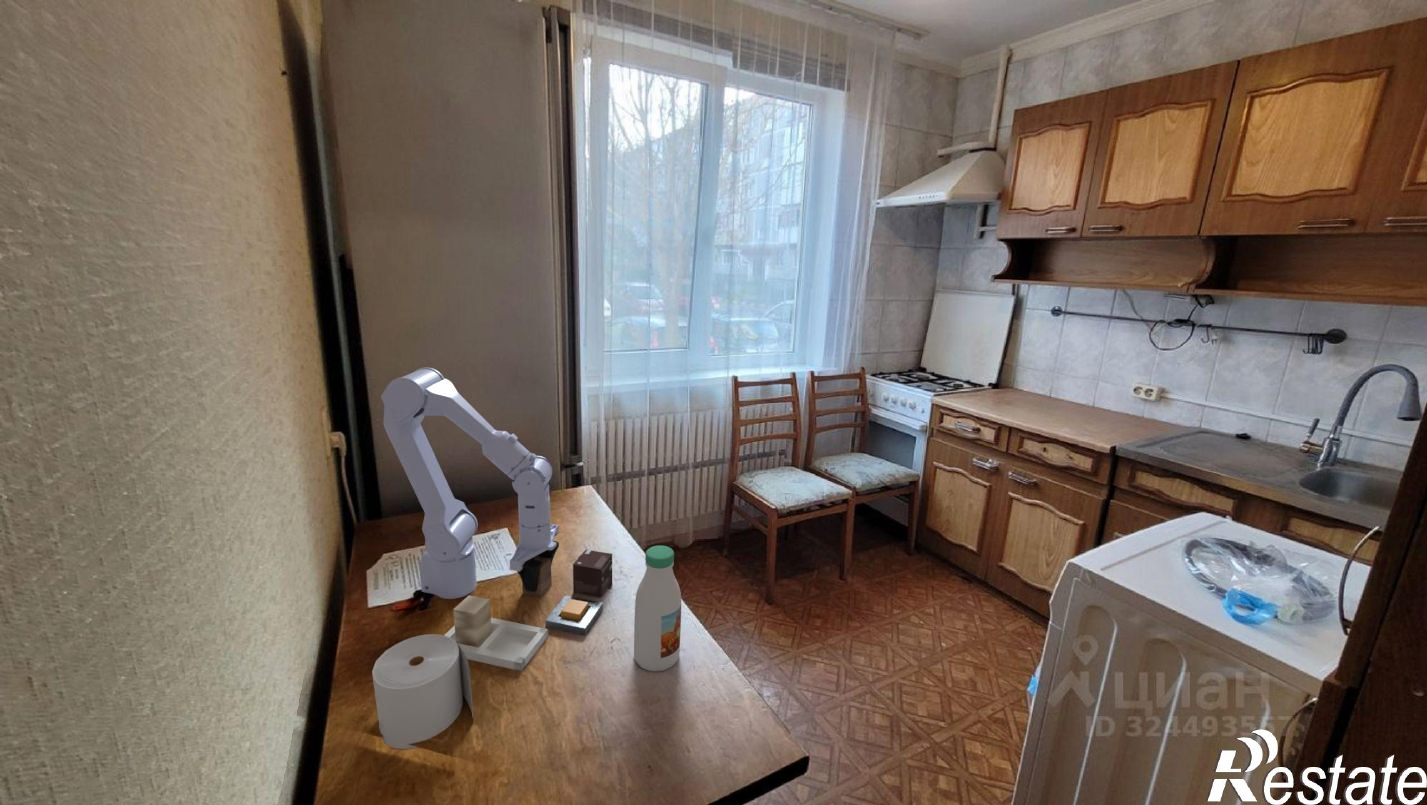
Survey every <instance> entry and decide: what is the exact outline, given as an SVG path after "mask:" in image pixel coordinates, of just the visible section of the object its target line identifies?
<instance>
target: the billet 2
mask: <svg viewBox="0 0 1427 805" xmlns="http://www.w3.org/2000/svg"><path fill="white" fill-rule="evenodd" d="M533 558H535V560H538V561H543V563H542V565H541V568H540V571H539V575H538V586H537V590H536V591H535V592H531V591H526V590H525V588H524V585H523V582H522V581H521V588H522V589H521V590H522V594H523V595H529V596H532V597H533V596H534V597H539V598H542V597H543V596H544V595H545V594H546V592H547V591H548V590H549V589H550V588H551V587H552V565H551V558H545V557H540V556H535V557H533Z"/></svg>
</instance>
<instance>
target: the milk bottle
mask: <svg viewBox="0 0 1427 805" xmlns="http://www.w3.org/2000/svg"><path fill="white" fill-rule="evenodd" d="M674 560H675V552H674V550H673V549H672V548H671V547H669V546H666V545H654V546H651V547H648V549H646V552H645V560H644V561H645V563H644V565H645V567H646V569H645V572H644V575H643V577H642V579H641V581H640V582H639V584H638V586H637V590H636V593H635V600H634V601H635V602H634V625H633V627H634V632H633V633H634V634H633V658H634V659H635V662H636V663H637V665H638V666H639V667H640V668H642V669H644V670H646V671H648V672H662V671H665V670H668V669H670V668H672V667H673V666H674V665H675V664H676V663H677V662H678V660H679V658H680V650H681V648H680V647H681V646H680V645H681V628H682V627H681V625H682V592H681V588H680V586H679V583H678V580H677V579H676V576H675V574H674V570H673V566H674V564H675V563H674Z"/></svg>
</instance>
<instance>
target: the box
mask: <svg viewBox="0 0 1427 805" xmlns="http://www.w3.org/2000/svg"><path fill="white" fill-rule="evenodd" d="M572 582H573V583H572V588H573V590H572V591H573V594H575V595H576V594H577V595H582V596H588V597H593V598H602V597H603V595H604V594H605V593H606V592H607V590H610V589H611V588H612V586H613V553H610V552H603V551H597V550H590V549H585V550H584V551H583V552H582V553H581V555H579V556H578V558H577V559H576V560H575V561H574V563H573V564H572Z"/></svg>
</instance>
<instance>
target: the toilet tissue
mask: <svg viewBox="0 0 1427 805" xmlns="http://www.w3.org/2000/svg"><path fill="white" fill-rule="evenodd" d="M444 635H445V634H444ZM444 635H443V634H437V633H434V634H433V633H432V634H431V633H430V634H423V635H422V634H421V635H417V636H412V637H409V638H407V639H404V640H402V641H400V642H398V643H395V644H394V645H393V646H391V647H390V648H387V649H386V650H384V652H383V653H382V654H381V655H380V656H379V657H378V658H377V659H376V660H375V663H374V666H373V668H372V671H371V673H372V674H371V675H372V681H373V682H372V684H373V687H374V688H373V689H374V696H375V697H374V698H375V702H376V712H377V714H376V715H377V719H378V729H379V732H380V734H381V736H382V737H381V739H382V740H383V743H384V744H385V745H387V746H389V747H391V748H393V749H396V750H397V749H399V750H400V749H401V750H408V749H415V748H418V746H417V745H416V746H415V745H413V744H416V743H420V742H423V741H424V742H425V741H428V740H430V739H432V738H433V737H435V736H437V735H439V734H441V733H443V732H444V731H445V730H446V729H448V728H449V727H450V726H451V725H452V724H453V723H454V722H455V720H457V718H458V717H459V715H461V712H462V708H463V704H464V699H465V701H466V703H467V704H468V707H469V709H470V712H471V714H472V717H474V711H473V710H474V709H473V699H472V695H473V694H472V687H471V674H470V665H469V659H467V657H466V656H465V652H464V651H463V650H462V648H461V647H460V646H459V645H458V644H457V643H456V642H455V641H454V640H453V639H451V638H449V637H448V636H444ZM463 697H464V698H463Z"/></svg>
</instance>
